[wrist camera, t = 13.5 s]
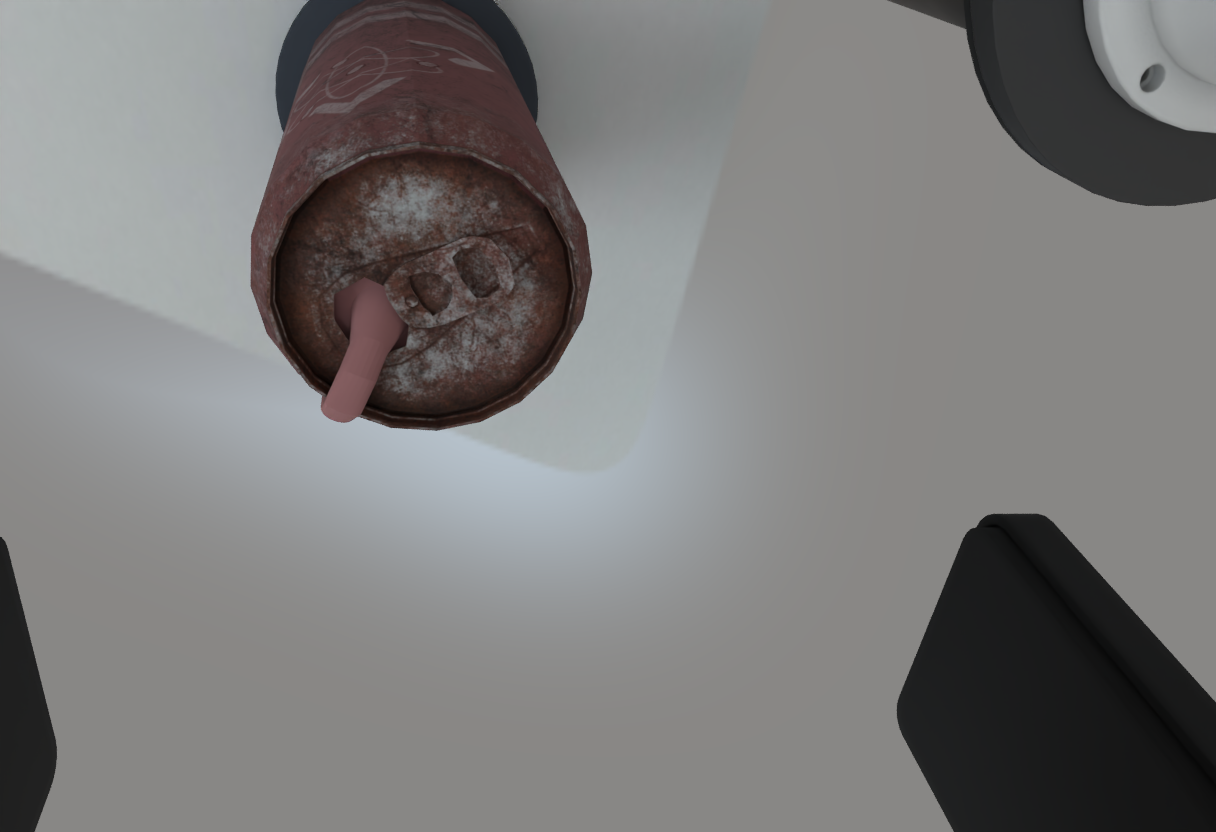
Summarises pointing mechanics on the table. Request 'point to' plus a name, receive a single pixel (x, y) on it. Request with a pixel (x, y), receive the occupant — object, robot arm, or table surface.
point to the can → (416, 225)
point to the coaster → (330, 3)
